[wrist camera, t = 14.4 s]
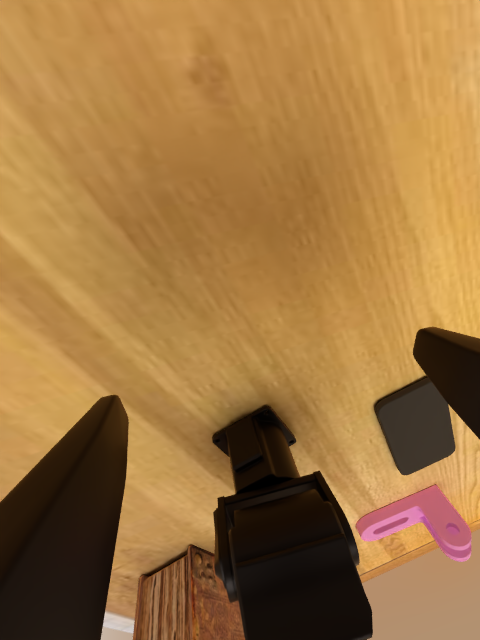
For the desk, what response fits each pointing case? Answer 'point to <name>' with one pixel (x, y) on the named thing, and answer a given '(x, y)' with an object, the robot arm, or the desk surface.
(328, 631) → the robot arm
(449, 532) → the bracket
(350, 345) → the desk surface
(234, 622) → the book
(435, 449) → the phone
